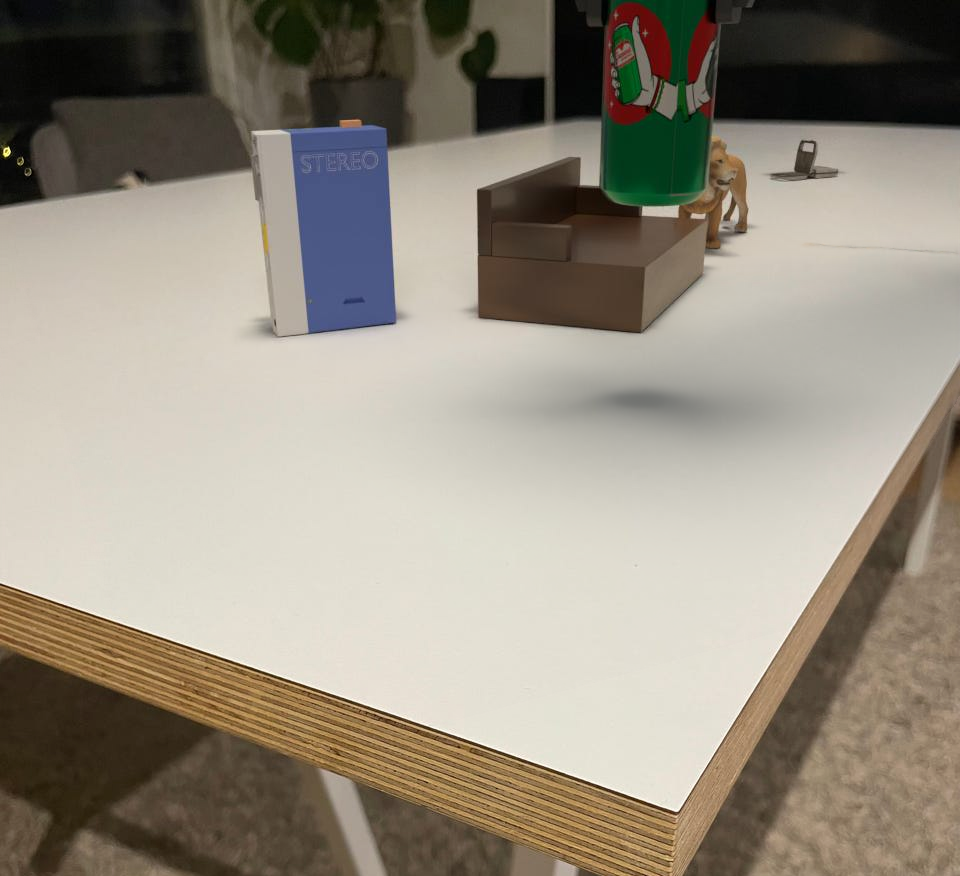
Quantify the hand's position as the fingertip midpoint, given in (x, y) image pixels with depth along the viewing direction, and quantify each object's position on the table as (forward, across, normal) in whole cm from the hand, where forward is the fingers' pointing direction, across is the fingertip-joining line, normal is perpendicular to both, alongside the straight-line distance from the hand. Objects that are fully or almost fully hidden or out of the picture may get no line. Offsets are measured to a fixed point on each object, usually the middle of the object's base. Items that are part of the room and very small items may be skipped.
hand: (662, 22), depth 46 cm
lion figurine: (+18, +5, -43) cm, 47 cm away
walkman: (+17, +22, -7) cm, 29 cm away
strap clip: (+18, +3, -87) cm, 89 cm away
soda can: (+8, 0, 0) cm, 8 cm away
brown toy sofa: (+17, +9, -21) cm, 28 cm away
